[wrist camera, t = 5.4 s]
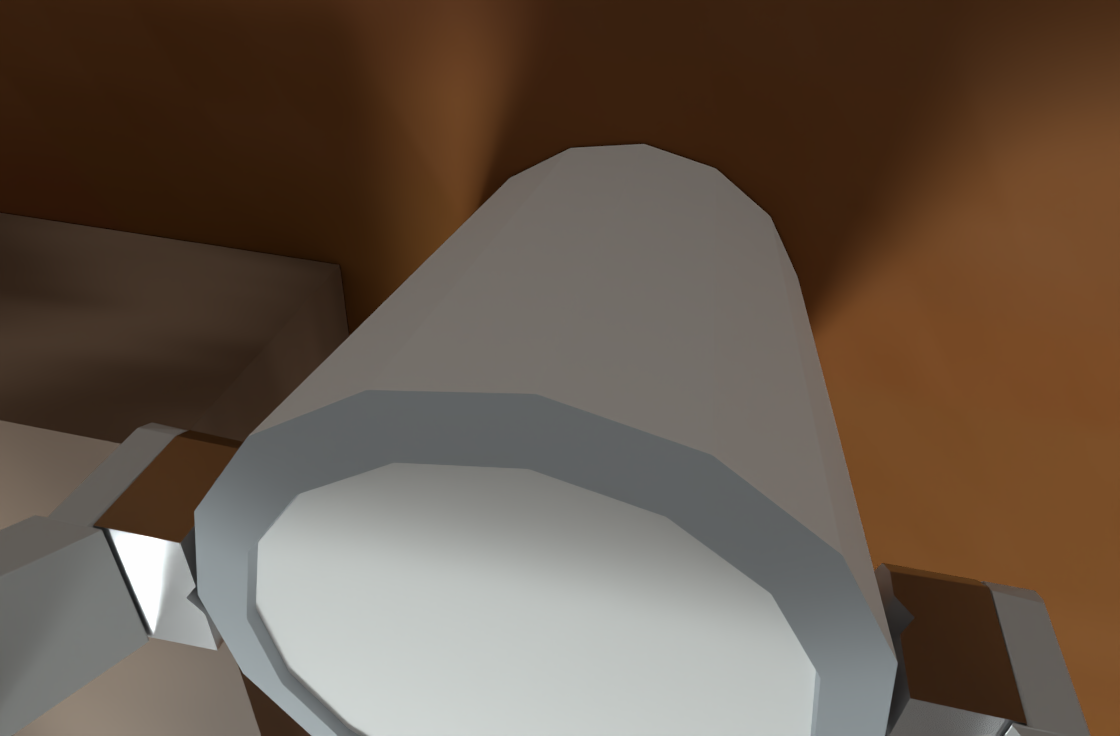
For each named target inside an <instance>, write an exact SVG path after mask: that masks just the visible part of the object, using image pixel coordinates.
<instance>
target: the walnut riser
mask: <svg viewBox="0 0 1120 736" xmlns="http://www.w3.org/2000/svg"><path fill="white" fill-rule="evenodd" d="M348 337H349V332H348V324H347V316H346V309H345V301H344V293H343V286H342V278H341V271H340V265H338V264H331V263H325V262H318V261H312V260H305V259H299V258H292V257H285V256H279V255H272V254H266V253H259V252H253V251H246V250H240V249H233V248H227V247H220V246H214V245H207V244H201V243H194V242H188V241H181V240H175V239H168V238H162V237H155V236H149V235H142V234H136V233H129V232H122V231H116V230H109V229H103V228H96V227H90V226H83V225H77V224H70V223H64V222H57V221H51V220H44V219H38V218H31V217H25V216H18V215H12V214H5V213H0V530H2V529H4V528H6V527H9V526H11V525H13V524H16V523H18V522H20V521H23V520H25V519H27V518H30V517H32V516H34V515H36V516H42V517H48V516H49V515H50V514H51V513H52V512H53V511H54V510H55V509H56V508H57V507H58V506H59V505H60V504H61V503H62V502H63V501H64V500H65V499H66V498H67V497H68V496H69V495H70V494H71V493H72V492H73V491H74V490H75V489H76V488H77V487H78V486H79V485H80V484H81V483H82V482H83V481H84V480H85V479H86V478H87V477H88V476H89V475H90V474H91V473H92V472H93V471H94V470H95V469H96V468H97V467H98V466H99V465H100V464H101V463H102V462H104V461H105V460H106V459H107V458H108V457H109V456H110V455H111V454H112V453H113V452H114V451H115V450H116V449H117V448H118V447H119V446H120V445H121V444H122V443H123V442H124V441H125V440H126V439H127V438H128V437H129V436H130V435H131V434H132V433H133V432H134V431H135V430H136V429H137V428H139V427H141V426H144V425H147V424H149V423H157V424H161V425H166V426H171V427H175V428H180V429H184V430H192V431H197V432H201V433H206V434H211V435H215V436H220V437H224V438H229V439H234V440H238V441H243V442H244V441H245V440H246V438H247V437H248V436H249V435H250V434H251V433H252V432H253V431H254V430H255V429H256V428H257V427H258V426H259V425H260V424H261V423H262V422H263V421H264V420H265V419H266V418H267V417H268V416H269V415H270V414H271V413H272V412H273V411H274V410H275V409H276V408H277V407H278V406H279V405H280V404H281V403H282V402H283V401H284V400H285V399H286V398H287V397H288V396H289V395H290V394H291V393H292V392H293V391H294V390H295V389H296V388H297V387H298V386H299V385H300V384H301V383H302V382H303V381H304V380H305V379H306V378H307V377H308V376H309V375H310V374H311V373H312V372H314V371H315V370H316V369H317V368H318V367H319V366H320V365H321V364H322V363H323V362H324V361H325V360H326V359H327V358H328V357H329V356H330V355H331V354H332V353H333V352H334V351H335V350H336V349H337V348H338V347H339V346H340V345H341V344H342V343H343V342H344V341H345V340H346V339H347V338H348ZM148 638H149V641H148V642H147V643H146V644H144V645H143V646H141V647H140V648H138V649H137V650H136V651H134V652H133V653H131V654H130V655H128V656H127V657H125V658H124V659H122V660H121V661H120V662H118V663H117V664H115V665H114V666H112V667H111V668H109V669H108V670H106V671H105V672H104V673H102V674H101V675H99V676H98V677H96V678H95V679H93V680H92V681H90V682H89V683H88V684H86V685H85V686H83V687H82V688H80V689H79V690H77V691H76V692H74V693H73V694H72V695H70V696H69V697H67V698H66V699H64V700H63V701H61V702H60V703H58V704H57V705H56V706H54V707H53V708H51V709H50V710H48V711H47V712H45V713H44V714H42V715H41V716H39V717H38V718H37V719H35V720H34V721H32V722H31V723H29V724H28V725H26V726H25V727H23V728H22V729H21V730H19V731H18V732H16V733H15V734H13V735H12V736H311V735H310V734H309V733H308V732H307V731H306V730H305V729H303V728H302V727H301V726H300V725H299V724H298V723H297V722H296V721H295V720H294V719H293V718H291V717H290V716H289V715H288V714H287V713H286V712H285V711H284V710H283V709H282V708H281V707H279V706H278V705H277V704H276V703H275V702H274V701H273V700H272V699H271V698H270V697H269V696H267V695H266V694H265V693H264V692H263V691H262V690H261V689H260V688H259V687H258V686H256V685H255V684H254V683H253V682H252V681H251V680H250V679H249V678H248V677H247V676H246V675H244V674H243V672H242V670H241V669H240V667H239V665H238V664H237V662H236V660H235V658H234V657H233V655H232V653H231V651H230V650H229V648H228V646H227V644H226V643H225V641H224V642H223V643H222V645H221V646H220V648H219V649H218V651H217V650H212V649H207V648H202V647H197V646H192V645H187V644H182V643H177V642H172V641H167V640H162V639H157V638H152V637H148Z"/></svg>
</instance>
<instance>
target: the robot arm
mask: <svg viewBox="0 0 1120 736" xmlns="http://www.w3.org/2000/svg"><path fill="white" fill-rule="evenodd" d="M242 444H243V441H238V440H234V439H229V438H224V437H220V436H215V435H211V434H206V433H201V432H197V431H192V430H184V429H180V428H175V427H171V426H166V425H161V424H157V423H149V424H147V425H144V426H141V427H139V428H137V429H136V430H135V431H134V432H133V433H132V434H131V435H130V436H129V437H128V438H127V439H126V440H125V441H124V442H123V443H122V444H121V445H120V446H119V447H118V448H117V449H116V450H115V451H114V452H113V453H112V454H111V455H110V456H109V457H108V458H107V459H106V460H105V461H104V462H102V463H101V464H100V465H99V466H98V467H97V468H96V469H95V470H94V471H93V472H92V473H91V474H90V475H89V476H88V477H87V478H86V479H85V480H84V481H83V482H82V483H81V484H80V485H79V486H78V487H77V488H76V489H75V490H74V491H73V492H72V493H71V494H70V495H69V496H68V497H67V498H66V499H65V500H64V501H63V502H62V503H61V504H60V505H59V506H58V507H57V508H56V509H55V510H54V511H53V512H52V513H51V514H50V515H49V516H48V517H42V516H36V515H34V516H32V517H30V518H27V519H25V520H23V521H20V522H18V523H16V524H13V525H11V526H9V527H6V528H4V529H2V530H0V736H12V735H13V734H15V733H16V732H18V731H19V730H21V729H22V728H23V727H25V726H26V725H28V724H29V723H31V722H32V721H34V720H35V719H37V718H38V717H39V716H41V715H42V714H44V713H45V712H47V711H48V710H50V709H51V708H53V707H54V706H56V705H57V704H58V703H60V702H61V701H63V700H64V699H66V698H67V697H69V696H70V695H72V694H73V693H74V692H76V691H77V690H79V689H80V688H82V687H83V686H85V685H86V684H88V683H89V682H90V681H92V680H93V679H95V678H96V677H98V676H99V675H101V674H102V673H104V672H105V671H106V670H108V669H109V668H111V667H112V666H114V665H115V664H117V663H118V662H120V661H121V660H122V659H124V658H125V657H127V656H128V655H130V654H131V653H133V652H134V651H136V650H137V649H138V648H140V647H141V646H143V645H144V644H146V643H147V642H148V641H149V638H148V637H152V638H157V639H162V640H167V641H172V642H177V643H182V644H187V645H192V646H197V647H202V648H207V649H212V650H217V651H218V649H219V648H220V646H221V645H222V643H223V642H224V639H223V638H222V636H221V634H220V632H219V631H218V629H217V627H216V625H215V624H214V622H213V620H212V619H211V617H210V615H209V613H208V612H207V610H206V608H205V606H204V605H203V603H202V601H201V600H200V598H199V596H198V589H197V566H196V542H195V519H194V511H195V509H196V508H197V507H198V505H199V504H200V503H201V501H202V500H203V498H204V497H205V496H206V494H207V493H208V491H209V490H210V489H211V487H212V486H213V484H214V483H215V482H216V480H217V479H218V477H219V476H220V475H221V473H222V472H223V470H224V469H225V468H226V466H227V465H228V463H229V462H230V461H231V459H232V458H233V456H234V455H235V454H236V452H237V451H238V449H239V448H240V447H241V445H242ZM874 573H875V577H876V581H877V585H878V589H879V592H880V596H881V600H882V604H883V608H884V612H885V616H886V619H887V623H888V627H889V631H890V635H891V639H892V643H893V646H894V650H895V654H896V658H897V662H898V665H897V671H896V676H895V682H894V688H893V693H892V699H891V705H890V711H889V716H888V722H887V728H886V733H885V736H1091V735H1090V732H1089V729H1088V726H1087V724H1086V721H1085V718H1084V715H1083V712H1082V709H1081V706H1080V704H1079V701H1078V698H1077V695H1076V692H1075V689H1074V686H1073V684H1072V681H1071V678H1070V675H1069V672H1068V669H1067V666H1066V664H1065V661H1064V658H1063V655H1062V652H1061V649H1060V646H1059V644H1058V641H1057V638H1056V635H1055V632H1054V629H1053V626H1052V624H1051V621H1050V618H1049V615H1048V612H1047V609H1046V606H1045V604H1044V601H1043V599H1042V598H1041V597H1040V596H1039V595H1038V594H1037V592H1036V591H1034V590H1028V589H1023V588H1017V587H1012V586H1006V585H1001V584H995V583H990V582H985V581H983V582H979V581H978V580H975V579H969V578H964V577H958V576H952V575H947V574H941V573H936V572H930V571H925V570H919V569H914V568H908V567H902V566H897V565H891V564H886V563H882V564H881V565H880V566H879V567H878V568H877V569H876V570H875V572H874Z"/></svg>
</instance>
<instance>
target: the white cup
mask: <svg viewBox="0 0 1120 736" xmlns="http://www.w3.org/2000/svg"><path fill="white" fill-rule="evenodd" d="M194 519H195V542H196V566H197V589H198V596H199V598H200V600H201V601H202V603H203V605H204V606H205V608H206V610H207V612H208V613H209V615H210V617H211V619H212V620H213V622H214V624H215V625H216V627H217V629H218V631H219V632H220V634H221V636H222V638H223V639H224V641H225V643H226V644H227V646H228V648H229V650H230V651H231V653H232V655H233V657H234V658H235V660H236V662H237V664H238V665H239V667H240V669H241V670H242V672H243V674H244V675H246V676H247V677H248V678H249V679H250V680H251V681H252V682H253V683H254V684H255V685H256V686H258V687H259V688H260V689H261V690H262V691H263V692H264V693H265V694H266V695H267V696H269V697H270V698H271V699H272V700H273V701H274V702H275V703H276V704H277V705H278V706H279V707H281V708H282V709H283V710H284V711H285V712H286V713H287V714H288V715H289V716H290V717H291V718H293V719H294V720H295V721H296V722H297V723H298V724H299V725H300V726H301V727H302V728H303V729H305V730H306V731H307V732H308V733H309V734H310V735H311V736H885V733H886V728H887V722H888V716H889V711H890V705H891V699H892V693H893V688H894V682H895V676H896V671H897V665H898V662H897V658H896V654H895V650H894V646H893V643H892V639H891V635H890V631H889V627H888V623H887V619H886V616H885V612H884V608H883V604H882V600H881V596H880V592H879V589H878V585H877V581H876V577H875V573H874V569H873V566H872V562H871V558H870V554H869V550H868V546H867V542H866V539H865V535H864V531H863V527H862V523H861V519H860V515H859V512H858V508H857V504H856V500H855V496H854V492H853V488H852V485H851V481H850V477H849V473H848V469H847V465H846V461H845V458H844V454H843V450H842V446H841V442H840V438H839V435H838V431H837V427H836V423H835V419H834V415H833V411H832V408H831V404H830V400H829V396H828V392H827V388H826V384H825V381H824V377H823V373H822V369H821V365H820V361H819V357H818V354H817V350H816V346H815V342H814V338H813V334H812V330H811V327H810V323H809V319H808V315H807V311H806V307H805V304H804V300H803V296H802V292H801V288H800V284H799V280H798V277H797V274H796V272H795V270H794V268H793V265H792V263H791V261H790V259H789V257H788V254H787V252H786V250H785V248H784V245H783V243H782V241H781V239H780V236H779V234H778V232H777V230H776V228H775V225H774V223H773V221H772V219H771V216H769V215H768V214H767V213H766V212H765V211H764V210H763V209H762V208H760V207H759V206H758V205H757V204H756V203H755V202H754V201H752V200H751V199H750V198H749V197H748V196H747V195H746V194H744V193H743V192H742V191H741V190H740V189H739V188H738V187H737V186H735V185H734V184H733V183H732V182H731V181H730V180H729V179H727V178H726V177H725V176H724V175H723V174H722V173H721V172H719V171H718V170H717V169H716V168H713V167H710V166H707V165H705V164H702V163H699V162H696V161H693V160H690V159H687V158H684V157H681V156H678V155H675V154H672V153H669V152H667V151H664V150H661V149H658V148H655V147H652V146H649V145H646V144H633V145H614V146H596V147H578V148H569V149H567V150H565V151H563V152H561V153H559V154H557V155H555V156H553V157H551V158H549V159H547V160H545V161H543V162H541V163H539V164H537V165H535V166H533V167H531V168H529V169H527V170H525V171H523V172H521V173H519V174H517V175H515V176H513V177H511V178H509V179H508V180H507V181H506V182H505V183H504V184H503V185H502V186H501V187H500V188H499V189H498V190H497V191H496V192H495V193H494V194H493V195H492V196H491V197H490V198H489V199H488V200H487V201H486V202H485V203H484V204H483V205H482V206H481V207H480V208H479V209H478V210H477V211H476V212H475V213H474V214H473V215H472V216H471V217H470V218H469V219H468V220H467V221H466V222H465V223H464V224H463V225H462V226H461V227H460V228H459V229H457V230H456V231H455V232H454V233H453V234H452V235H451V236H450V237H449V238H448V239H447V240H446V241H445V242H444V243H443V244H442V245H441V246H440V247H439V248H438V249H437V250H436V251H435V252H434V253H433V254H432V255H431V256H430V257H429V258H428V259H427V260H426V261H425V262H424V263H423V264H422V265H421V266H420V267H419V268H418V269H417V270H416V271H415V272H414V273H413V274H412V275H411V276H410V277H409V278H408V279H407V280H406V281H405V282H404V283H403V284H402V285H401V286H400V287H399V288H398V289H397V290H396V291H395V292H394V293H393V294H392V295H391V296H390V297H389V298H388V299H387V300H386V301H384V302H383V303H382V304H381V305H380V306H379V307H378V308H377V309H376V310H375V311H374V312H373V313H372V314H371V315H370V316H369V317H368V318H367V319H366V320H365V321H364V322H363V323H362V324H361V325H360V326H359V327H358V328H357V329H356V330H355V331H354V332H353V333H352V334H351V335H350V336H349V337H348V338H347V339H346V340H345V341H344V342H343V343H342V344H341V345H340V346H339V347H338V348H337V349H336V350H335V351H334V352H333V353H332V354H331V355H330V356H329V357H328V358H327V359H326V360H325V361H324V362H323V363H322V364H321V365H320V366H319V367H318V368H317V369H316V370H315V371H314V372H312V373H311V374H310V375H309V376H308V377H307V378H306V379H305V380H304V381H303V382H302V383H301V384H300V385H299V386H298V387H297V388H296V389H295V390H294V391H293V392H292V393H291V394H290V395H289V396H288V397H287V398H286V399H285V400H284V401H283V402H282V403H281V404H280V405H279V406H278V407H277V408H276V409H275V410H274V411H273V412H272V413H271V414H270V415H269V416H268V417H267V418H266V419H265V420H264V421H263V422H262V423H261V424H260V425H259V426H258V427H257V428H256V429H255V430H254V431H253V432H252V433H251V434H250V435H249V436H248V437H247V438H246V440H245V441H244V442H243V444H242V445H241V447H240V448H239V449H238V451H237V452H236V454H235V455H234V456H233V458H232V459H231V461H230V462H229V463H228V465H227V466H226V468H225V469H224V470H223V472H222V473H221V475H220V476H219V477H218V479H217V480H216V482H215V483H214V484H213V486H212V487H211V489H210V490H209V491H208V493H207V494H206V496H205V497H204V498H203V500H202V501H201V503H200V504H199V505H198V507H197V508H196V509H195V511H194Z"/></svg>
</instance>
